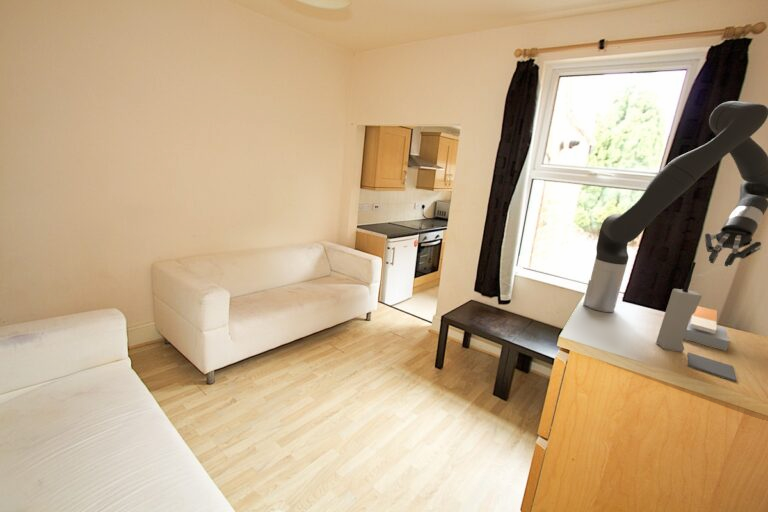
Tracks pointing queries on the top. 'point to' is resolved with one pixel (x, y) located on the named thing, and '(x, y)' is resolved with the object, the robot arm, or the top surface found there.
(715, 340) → the block
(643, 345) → the top surface
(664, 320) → the vintage mobile phone
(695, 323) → the block
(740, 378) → the top surface
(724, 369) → the rubber mat
